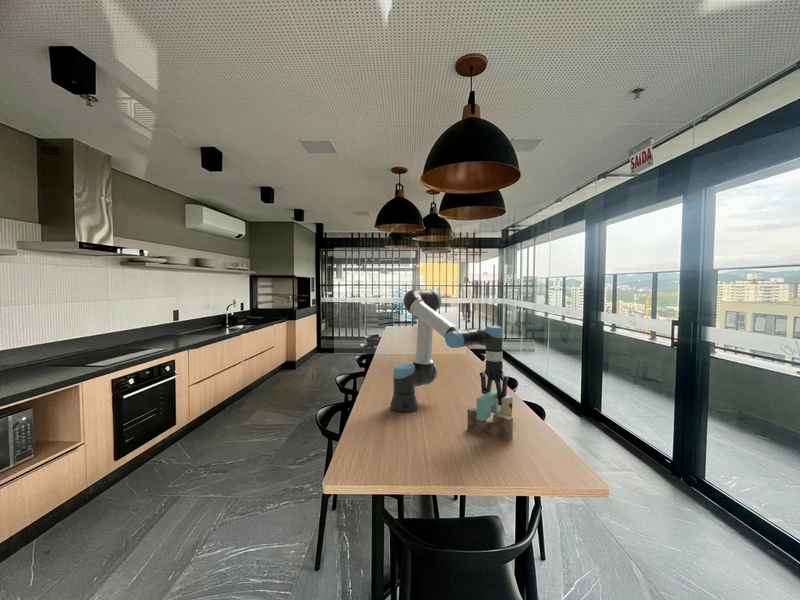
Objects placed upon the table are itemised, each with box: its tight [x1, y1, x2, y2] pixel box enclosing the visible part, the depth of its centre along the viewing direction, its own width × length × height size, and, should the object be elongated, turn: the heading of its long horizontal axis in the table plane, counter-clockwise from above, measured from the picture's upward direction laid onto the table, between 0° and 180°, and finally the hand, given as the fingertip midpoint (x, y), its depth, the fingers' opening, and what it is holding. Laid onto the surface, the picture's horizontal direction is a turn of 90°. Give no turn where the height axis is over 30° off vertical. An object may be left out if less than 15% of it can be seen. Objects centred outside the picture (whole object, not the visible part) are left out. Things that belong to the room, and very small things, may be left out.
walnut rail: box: [466, 407, 514, 441], centre depth 152 cm, size 20×4×9 cm, turn 50°
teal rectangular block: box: [476, 388, 501, 421], centre depth 152 cm, size 4×18×9 cm, turn 140°
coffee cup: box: [496, 393, 514, 417], centre depth 169 cm, size 9×9×12 cm
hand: (493, 410), depth 156 cm, fingers closed on teal rectangular block, 3 cm apart
